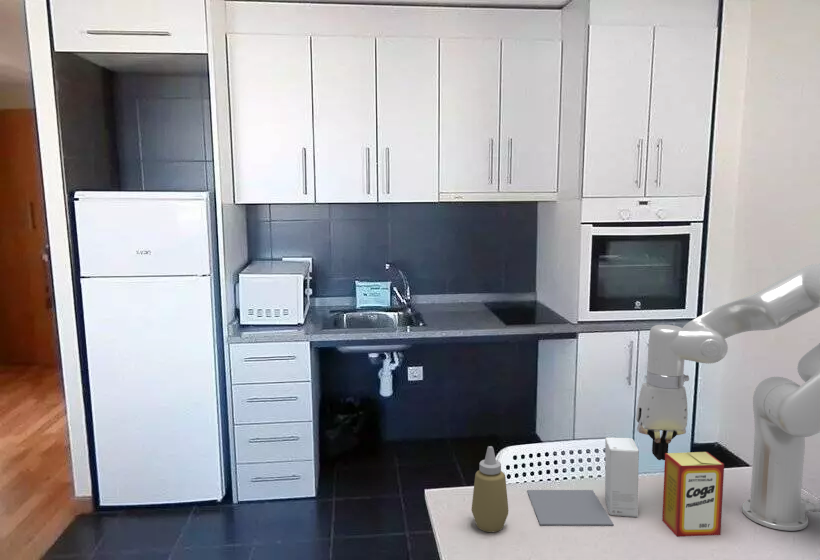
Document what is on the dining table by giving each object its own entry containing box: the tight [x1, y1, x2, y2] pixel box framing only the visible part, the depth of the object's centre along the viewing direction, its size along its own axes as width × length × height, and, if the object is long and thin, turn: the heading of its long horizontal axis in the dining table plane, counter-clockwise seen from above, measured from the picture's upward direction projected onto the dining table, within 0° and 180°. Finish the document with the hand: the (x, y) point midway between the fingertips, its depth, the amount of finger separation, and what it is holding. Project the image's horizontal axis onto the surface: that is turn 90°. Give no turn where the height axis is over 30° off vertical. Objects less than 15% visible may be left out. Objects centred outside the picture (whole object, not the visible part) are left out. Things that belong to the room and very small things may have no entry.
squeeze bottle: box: [471, 445, 509, 533], centre depth 129 cm, size 8×8×18 cm
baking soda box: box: [661, 451, 725, 538], centre depth 128 cm, size 10×6×16 cm
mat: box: [526, 489, 615, 527], centre depth 138 cm, size 16×16×1 cm
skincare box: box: [604, 437, 640, 518], centre depth 137 cm, size 8×7×16 cm
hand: (659, 457), depth 136 cm, fingers closed
